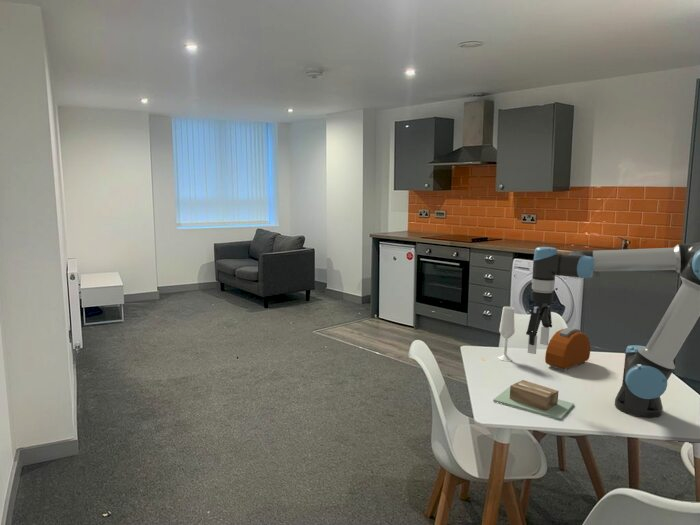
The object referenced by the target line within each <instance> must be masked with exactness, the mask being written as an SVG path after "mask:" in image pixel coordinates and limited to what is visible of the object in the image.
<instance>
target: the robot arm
mask: <svg viewBox="0 0 700 525" xmlns="http://www.w3.org/2000/svg"><path fill="white" fill-rule="evenodd" d="M532 260H533V262H532V278H531V280H530V283H531V289H532V290H531V291H530V301H531V302H533V303H535V305H534V306H531V311H530V317H529V321H528V327H527V330H526V333H525V335H527V336H528V339H527V340H528V344H527V353H528V354H532V355H536V354H537V345H538V335H537V334H538V330H539V328H540V338H539V339H540V340H539V344H540V345H543V346H548V344H549V341H550V340H549V338H550V328H553V322H552V308H551V307H552V306H551V305H552V303H553V302H554V294H555V293H554V291H555V285H556V284H555V282H556V276H557V277H558V276H559V277H560V276H561V277H571V278H580V279H591V278H592V277H593V274H594V272H625V271H626V272H630V271H631V272H637V271H638V272H639V271H675V272H677V273H678V274H680V279H681V282H682V283H681V285H680V287H679V289H678V290H677V292H676V294H675V295H674V298H673V299H672V300H671V302H670V304H669V306H668V308H667V309H666V311H665V312H664V314H663V317H662V318H661V320H660V322H659V323H658V324H657V326H656V329H655V330H654V332H653V334H652V336H651V337H650V339H649V340H648V342H647V344H646V346H645V345H638V344H637V345H636V344H635V345H633V344H632V345H627V347H626V349H625V352H624V355H625V357H624V363H623V364H624V365H623V366H624V367H623V373H622V374H623V375H622V384H621V386H620V389H619V391H618V393H617V395H616V397H615V399H614V406H615V407H616V409H617V410H619V411H620V412H623V413H624V414H628V415H631V416H635V417H638V418H640V417H641V418H647V419H648V418H649V419H654V418H656V419H657V418H659V417H662V415H663V413H664V412H663V411H664V410H663V409H664V408H663V403H662V399H661V396H663V395H664V393H665V391H666V390H667V387H668V380H669V379H670V377H671V375H672V374H673V372H674V370H675V369H676V365H675V364H674V360H675V358H676V356H677V355H678V353H679V351H680V350H681V349H682V346H683V345H684V343H685V342H686V339H688V336H689V335H690V333H691V331H692V330H693V328H694V327H695V324H696V323H697V321H698V319H699V318H700V241H698V242H694V243H682V244H678V243H677V244H676V245H675V246H674V247H661V248H659V247H658V248H655V247H654V248H635V249H634V248H631V249H629V248H627V249H606V250H605V249H604V250H603V249H601V250H600V249H599V250H582V249H580V250H578V249H577V250H573V251H571V252H570V253H569V254H563V253H558V249H557V248H556V247H551V246H538V247H536V248H535V249H534V254H533V259H532ZM540 324H541V325H542V326H541V327H540Z"/></svg>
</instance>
